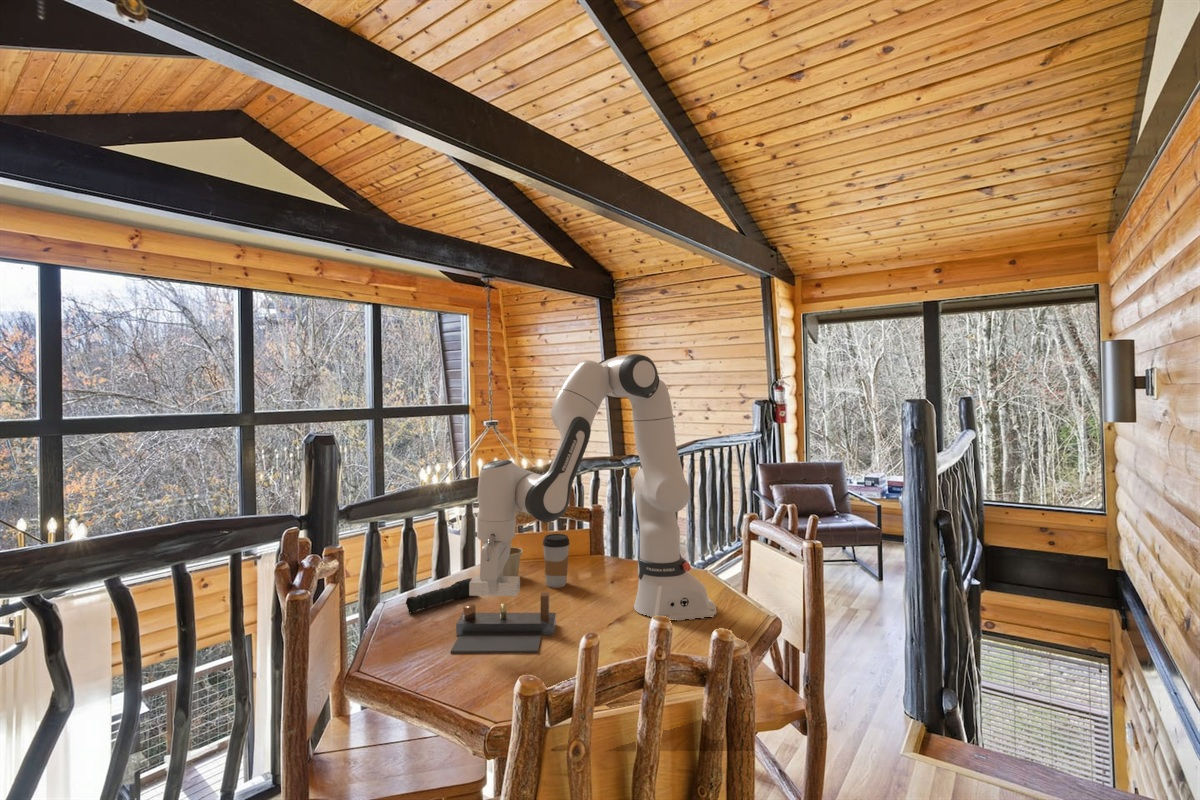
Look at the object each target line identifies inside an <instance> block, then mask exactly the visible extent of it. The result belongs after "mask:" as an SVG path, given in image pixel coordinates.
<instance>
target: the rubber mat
mask: <svg viewBox="0 0 1200 800" xmlns="http://www.w3.org/2000/svg"><path fill="white" fill-rule="evenodd" d="M541 641H542V636H457V638H456V641H454V644H453V646H452V647H451V650H450V654H538V653H539V650H540V645H541Z"/></svg>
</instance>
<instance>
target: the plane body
mask: <svg viewBox="0 0 1200 800" xmlns="http://www.w3.org/2000/svg"><path fill="white" fill-rule="evenodd" d="M462 607H463V608H462V609H463V611H462V613H461V615H460V616H459V618H458V620H457V622H456V624H455V626H456V627H455V629H456V631H455V632H456V633H455V636H456V637H459V636H541V637H542V636H543V637H544V636H545V637H547V636H548V637H549V636H550V637H551V635H553V636H555V632H556V625H557V612H550V592H541V593H540V612H508V611H507V610H508V609H507V608H508V607H507V603H505V602H502V603H500V604H499V612H476V611H477V610H476V607H477V606H476V604H474V603H469V604H464V605H463V606H462ZM553 636H552V637H553Z"/></svg>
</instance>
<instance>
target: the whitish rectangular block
mask: <svg viewBox="0 0 1200 800" xmlns="http://www.w3.org/2000/svg"><path fill="white" fill-rule="evenodd" d="M471 578H472V580H471V581H470V582H469V597H471V596H476V597H477V596H479V597H480V596H481V597H487V596H488V597H518V594H519V592H520V590H521V576H519V575H518V576H498V578H497V592H496V594H489V593H488V589H489V587H488V582H483V581H481V580H480V575H473V577H471Z"/></svg>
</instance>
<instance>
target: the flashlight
mask: <svg viewBox="0 0 1200 800" xmlns="http://www.w3.org/2000/svg"><path fill="white" fill-rule="evenodd" d="M472 578H473V577H468V578H465V579H462V580H459V581H456V582H454V583H453V584H451V585H450V586H447V587H441V588H439V589H433V590H431V591H427V592H424V593H421V594H417V596H409V597H407V598H406V600H405V601H406V602H405V605H406V607H407V610H408V613H409V614H413V613H417V612H418V611H419V610H423V609H427V608H430V607H432V606H436V605H439V604H443V603H446V602H448V601H451V600H458V599H459V598H462V599H465V598H468V596H469V582H470V581H471V580H472ZM464 597H465V598H464ZM469 597H470V596H469ZM459 600H460V599H459ZM410 612H411V613H410Z"/></svg>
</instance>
